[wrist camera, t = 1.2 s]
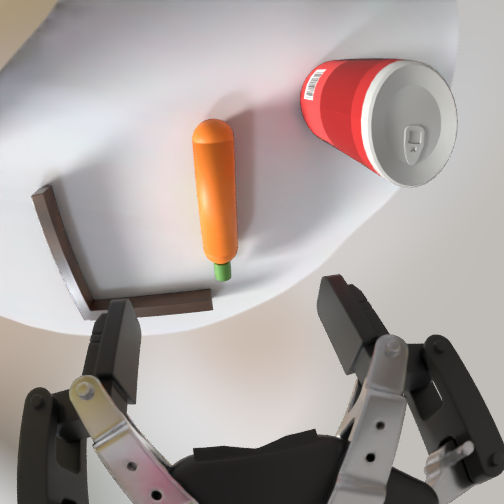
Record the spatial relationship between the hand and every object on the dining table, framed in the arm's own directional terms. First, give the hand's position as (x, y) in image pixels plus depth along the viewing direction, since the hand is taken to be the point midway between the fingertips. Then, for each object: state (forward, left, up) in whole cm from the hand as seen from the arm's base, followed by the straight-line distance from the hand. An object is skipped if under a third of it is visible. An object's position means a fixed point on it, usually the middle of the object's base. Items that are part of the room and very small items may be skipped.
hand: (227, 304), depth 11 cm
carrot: (+1, 0, -15) cm, 15 cm away
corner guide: (+6, -9, -15) cm, 19 cm away
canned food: (-7, +11, -15) cm, 20 cm away
